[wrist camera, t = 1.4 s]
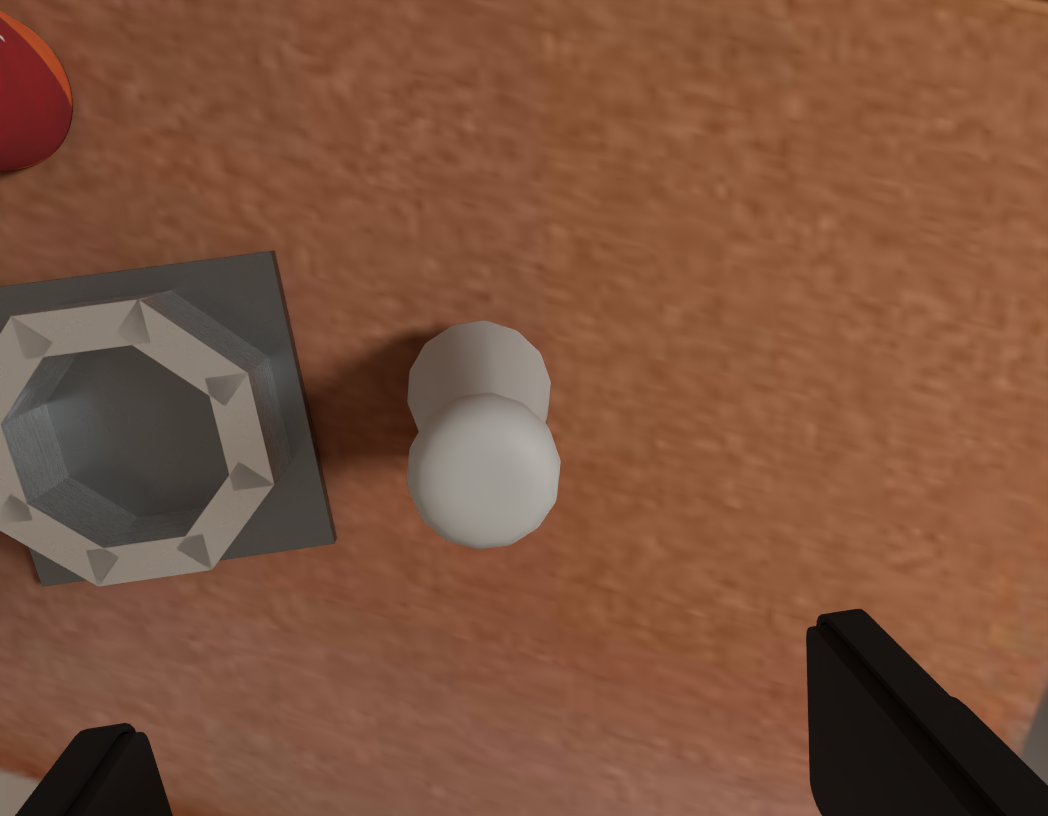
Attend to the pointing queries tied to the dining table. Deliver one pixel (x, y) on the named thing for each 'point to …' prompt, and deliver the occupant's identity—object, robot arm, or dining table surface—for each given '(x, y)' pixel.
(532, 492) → the grey peg
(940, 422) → the dining table surface
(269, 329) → the ring collar
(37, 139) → the paper cup
